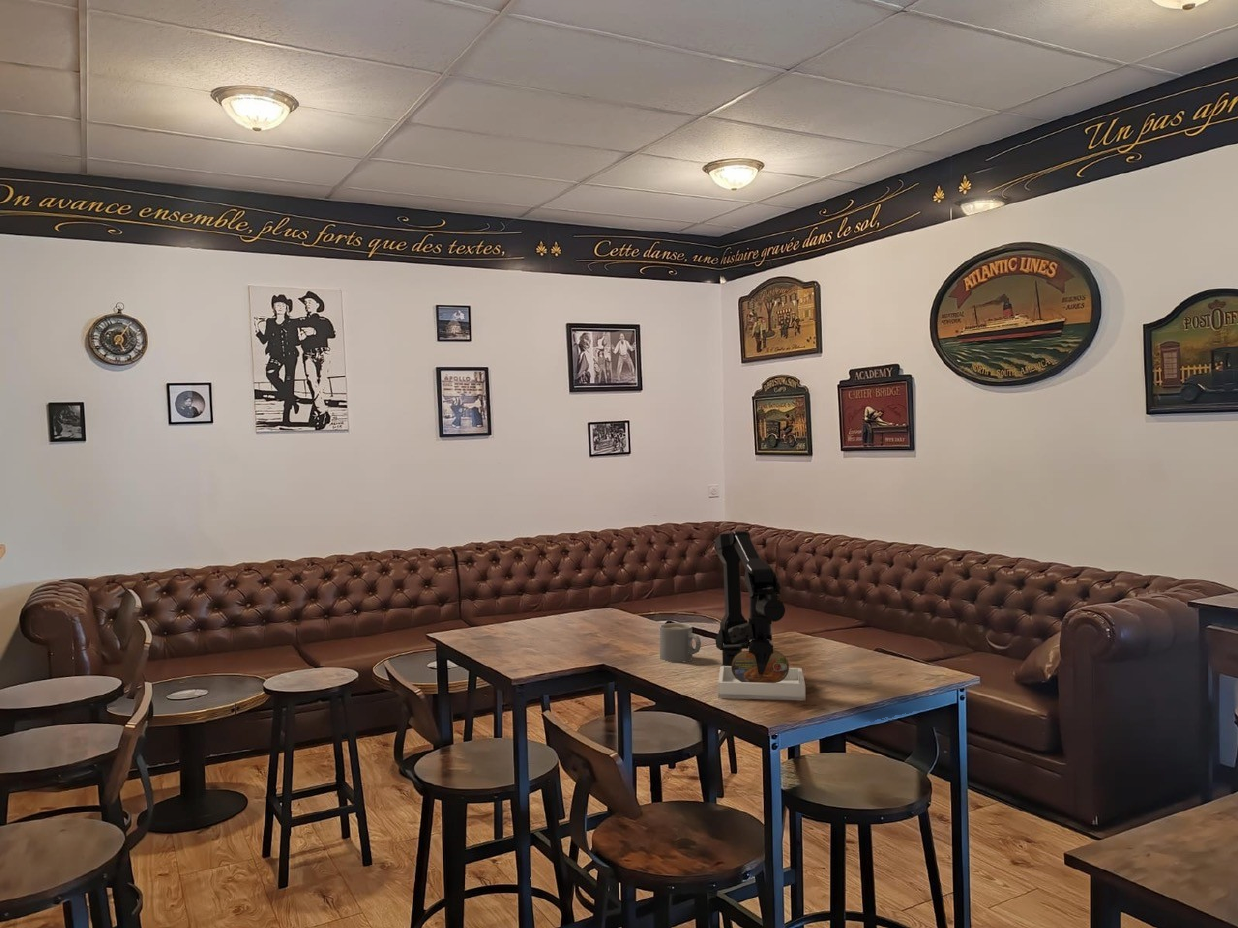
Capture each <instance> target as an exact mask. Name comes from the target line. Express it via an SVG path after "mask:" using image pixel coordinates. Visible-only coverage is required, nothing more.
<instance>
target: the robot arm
mask: <svg viewBox="0 0 1238 928" xmlns="http://www.w3.org/2000/svg"><path fill="white" fill-rule="evenodd" d="M714 547H715V548H716V553H717V556H718V558H719V559H720V561H721V562H722V564H723V587H724V611H725V612H724V615H723V617H722V619H721V620H720V622H719V623H720V624H719V630H718V633H717V635H716V638H715V640H714V641H715V646H716V648H717V649H718V650H720V651H721V652H722V653H721V654H722V657H721V658H722V660H721V663H722V664H720V666H731V665H732V661H733V659H734V657H735V656H736V655H737V654H738V653H740V652H742V651H743V650H744V649H746V650H747V649H748V651H749V653H752V654H753V655H754V656H755V658H756V663H757V668H758V673H759V675H763V673H764V671H765V668H766V666H767V663H768V661H769V658H770V656H771V654H773V650H774V643H773V641H772V640H773V634H772V622H774V623H775V622H779V621H780V620H782V619H783V617H784V615H785V614H786V607H785V605H784V603H783V602H782V601H781V600H779V598H778V595H781V585H780V582H779V580H778V577H777V575H776V572H775V571H774V569H773V567H771V565H770V563H768V562H766V561H764V560H762V558H761V557H760V555H759V554H758V551H757V549H756V547H755V546H754V543H753V542H752V539H751V535H750V532H749V531H747V530H733V531H730V532H720V533H719V534H718V536H716V537H715V539H714ZM740 563H742V565H743V567H744V570H745V572H744V584H745V587H746V588H747V591H748V593H747V594H748V596H749V599H748V600H749V617H748V620H747V619H746V618H745V616H744V615H743V614H742V592H741V569H740V567H741V566H740Z"/></svg>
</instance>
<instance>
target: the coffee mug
mask: <svg viewBox="0 0 1238 928" xmlns="http://www.w3.org/2000/svg"><path fill="white" fill-rule="evenodd" d="M693 640H694V641H695V648H694V647H693V646H694V645H693ZM701 646H702V642H701V637H700V636H699V635H698V634H695V633H693V625H692V624H689V623H683V622H682V623H681V622H671V623H670V622H669V623H663V624H660V625H659V660H661V659H662V660H665V661H664V662H666V661H668V662H667V663H684V662H683V661H687V662H690V661H692V660H693V655H695V654H698V653H699V652H700V649H701ZM691 659H692V660H691ZM662 660H661V661H662ZM689 660H690V661H689Z"/></svg>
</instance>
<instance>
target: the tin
mask: <svg viewBox="0 0 1238 928" xmlns="http://www.w3.org/2000/svg"><path fill="white" fill-rule="evenodd" d="M789 668H790V665H789V662H788V659H787V658H786V656H785V655H784V654H783V653H782V652H780V651H778V650H775V649H773V654H771V656H770V658H769V661H768V663H767V666H766V668H765V671H764V673H763V675H759V673H758V668H757V663H756V658H755V656H754V655H753V654H752V653H749V650H742V652H740V653H738V654H737V655H736V656H735V657H734V659H733V661H732V665H731V669H732V673H733V675H734V676H735V678H736V679H737V680H739V681H740V682H754V683H777V682H780V681H782V680H783V679H784V678H785V677H786V676H787V674H788V671H789Z"/></svg>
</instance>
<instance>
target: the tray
mask: <svg viewBox="0 0 1238 928" xmlns="http://www.w3.org/2000/svg"><path fill="white" fill-rule="evenodd" d="M803 673H804V672H803V670H802V667H789V671H788V674H787V676H786V677H785V678H784V679H783V680H782V681H780V682H777V683H754V682H740V681H739V680H737V679H736V678H735V676H734V675H733V673H732V669H731V666H721V665H720V667H719V675H718V682H717V690H718V691H717V698H718V699H740V700H772V701H775V700H776V701H777V700H778V701H806V683H805V678H804V677H805V676H804V674H803Z"/></svg>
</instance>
